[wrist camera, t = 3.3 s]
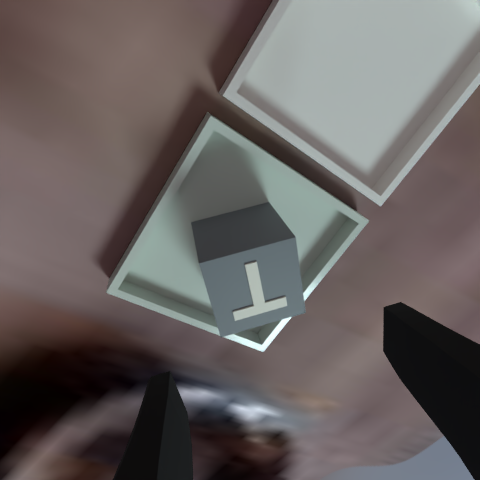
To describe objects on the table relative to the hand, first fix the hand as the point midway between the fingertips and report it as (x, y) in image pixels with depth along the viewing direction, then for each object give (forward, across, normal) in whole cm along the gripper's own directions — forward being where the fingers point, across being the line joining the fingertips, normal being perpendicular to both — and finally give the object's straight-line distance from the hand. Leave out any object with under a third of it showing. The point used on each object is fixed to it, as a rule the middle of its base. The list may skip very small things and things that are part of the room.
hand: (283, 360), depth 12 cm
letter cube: (+8, 0, 0) cm, 8 cm away
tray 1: (+8, -8, -7) cm, 13 cm away
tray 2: (+8, 0, 0) cm, 8 cm away
